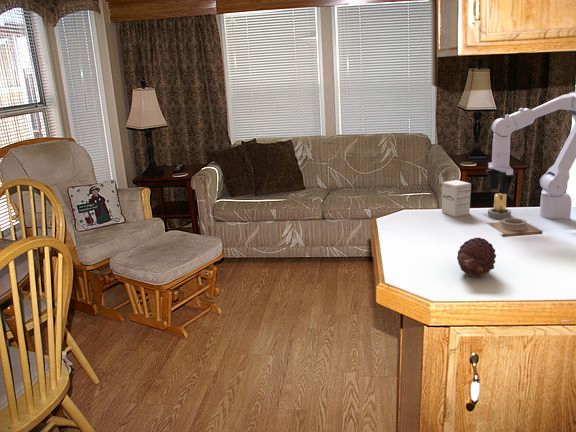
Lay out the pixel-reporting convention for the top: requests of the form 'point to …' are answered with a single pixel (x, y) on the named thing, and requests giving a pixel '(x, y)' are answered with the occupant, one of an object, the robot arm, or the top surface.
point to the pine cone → (476, 257)
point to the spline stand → (498, 215)
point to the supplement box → (456, 198)
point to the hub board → (516, 233)
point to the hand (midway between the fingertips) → (499, 191)
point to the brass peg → (500, 203)
